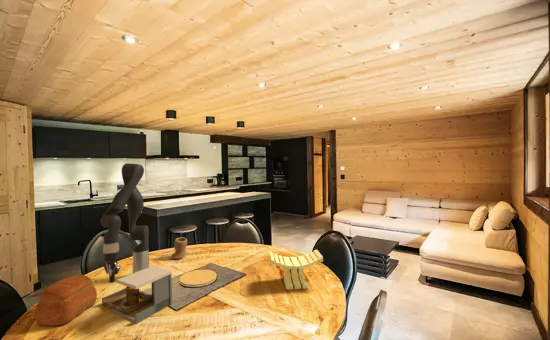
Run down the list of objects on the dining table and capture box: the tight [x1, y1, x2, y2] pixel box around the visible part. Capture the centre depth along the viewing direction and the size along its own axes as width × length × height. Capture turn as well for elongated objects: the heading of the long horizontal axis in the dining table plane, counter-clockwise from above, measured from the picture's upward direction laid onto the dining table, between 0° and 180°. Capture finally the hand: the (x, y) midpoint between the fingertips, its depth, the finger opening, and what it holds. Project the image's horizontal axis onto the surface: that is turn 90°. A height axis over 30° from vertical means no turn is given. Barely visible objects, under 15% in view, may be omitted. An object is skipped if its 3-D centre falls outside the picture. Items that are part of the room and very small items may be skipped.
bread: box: [34, 274, 98, 327], centre depth 128 cm, size 18×22×17 cm
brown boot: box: [170, 236, 188, 260], centre depth 207 cm, size 15×12×15 cm
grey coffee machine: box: [110, 265, 173, 325], centre depth 132 cm, size 22×19×18 cm
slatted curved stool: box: [268, 249, 324, 290], centre depth 157 cm, size 30×16×18 cm, turn 96°
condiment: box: [120, 286, 141, 309], centre depth 137 cm, size 7×8×12 cm
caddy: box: [101, 287, 154, 315], centre depth 138 cm, size 20×16×4 cm
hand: (112, 281), depth 145 cm, fingers closed
